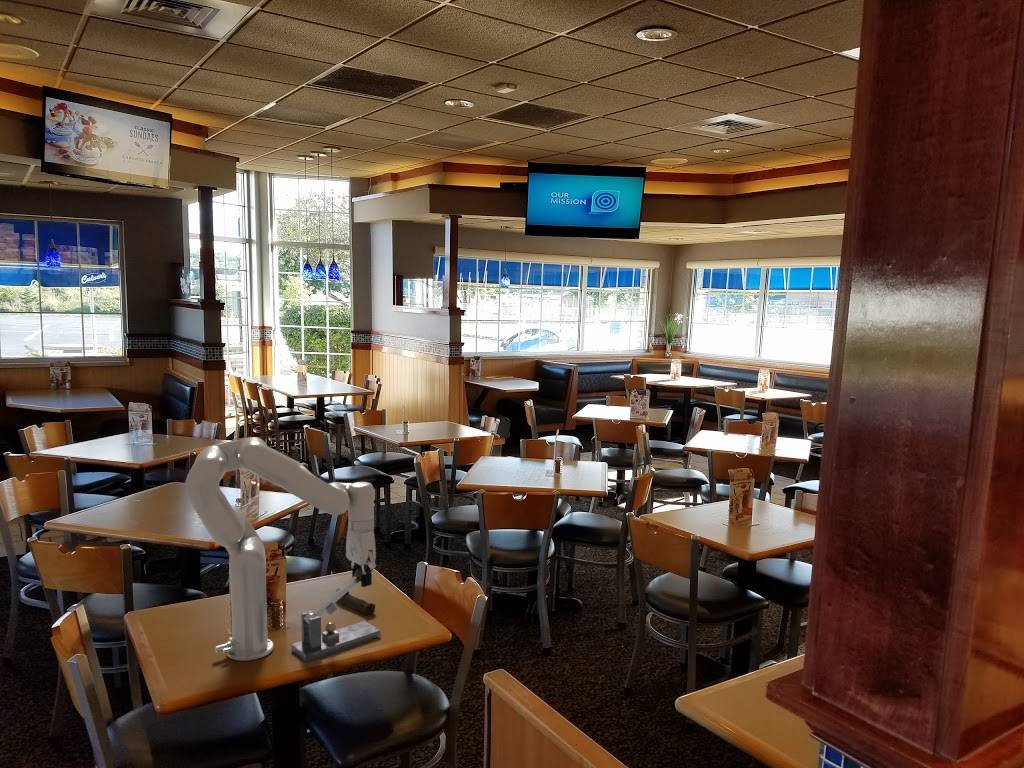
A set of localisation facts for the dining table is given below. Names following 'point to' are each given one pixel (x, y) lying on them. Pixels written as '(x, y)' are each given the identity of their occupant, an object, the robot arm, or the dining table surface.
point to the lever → (335, 597)
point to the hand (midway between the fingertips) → (361, 582)
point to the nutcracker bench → (325, 648)
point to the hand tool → (357, 604)
